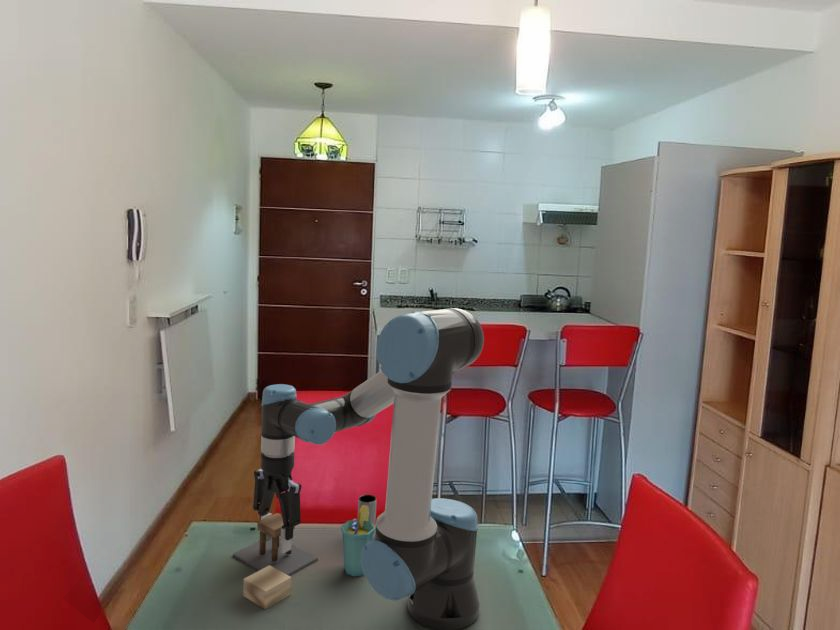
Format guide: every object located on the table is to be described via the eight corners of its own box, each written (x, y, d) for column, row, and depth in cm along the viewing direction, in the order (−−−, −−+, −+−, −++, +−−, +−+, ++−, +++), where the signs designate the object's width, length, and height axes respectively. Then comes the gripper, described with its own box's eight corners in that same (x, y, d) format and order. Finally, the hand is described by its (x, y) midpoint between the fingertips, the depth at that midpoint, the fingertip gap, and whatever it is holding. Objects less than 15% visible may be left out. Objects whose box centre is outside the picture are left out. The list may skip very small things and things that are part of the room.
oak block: (291, 594, 137) (291, 577, 137) (265, 609, 132) (265, 591, 131) (269, 582, 141) (269, 565, 141) (243, 596, 136) (243, 578, 135)
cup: (367, 591, 140) (370, 527, 138) (332, 587, 141) (334, 523, 138) (376, 557, 154) (379, 498, 152) (344, 554, 154) (346, 495, 152)
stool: (293, 552, 152) (294, 521, 150) (274, 563, 147) (274, 530, 146) (276, 544, 155) (277, 512, 154) (256, 553, 150) (257, 521, 149)
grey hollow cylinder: (367, 530, 167) (369, 492, 165) (378, 537, 163) (380, 499, 162) (353, 535, 164) (354, 497, 162) (363, 542, 161) (365, 503, 159)
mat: (317, 560, 151) (317, 557, 151) (278, 581, 142) (279, 579, 142) (272, 537, 161) (272, 534, 161) (232, 556, 151) (232, 553, 151)
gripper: (319, 458, 145) (316, 554, 148) (262, 437, 156) (261, 526, 159) (294, 468, 139) (292, 567, 142) (237, 445, 150) (236, 538, 153)
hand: (275, 545), depth 151 cm, fingers open, 6 cm apart
